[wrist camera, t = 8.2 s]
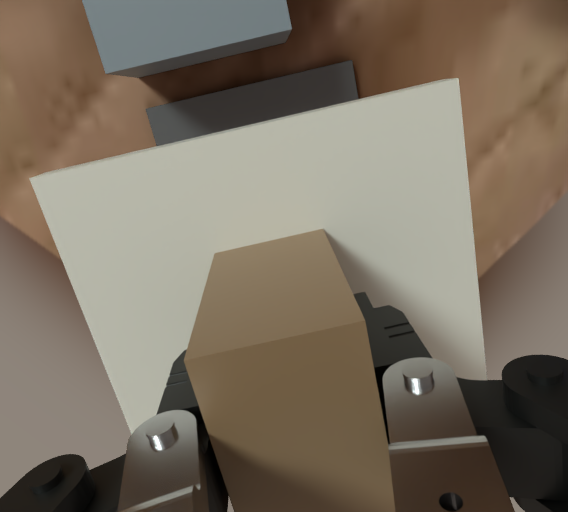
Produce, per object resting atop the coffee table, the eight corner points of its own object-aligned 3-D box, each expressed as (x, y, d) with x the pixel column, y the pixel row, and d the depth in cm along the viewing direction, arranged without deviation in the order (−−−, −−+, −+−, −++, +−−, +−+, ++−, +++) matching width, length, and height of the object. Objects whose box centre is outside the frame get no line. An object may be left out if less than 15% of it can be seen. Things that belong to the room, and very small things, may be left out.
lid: (443, 79, 13) (614, 66, 7) (479, 415, 16) (611, 611, 10) (46, 172, 13) (-146, 242, 7) (166, 482, 17) (110, 711, 10)
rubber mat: (350, 60, 32) (352, 60, 31) (382, 254, 36) (384, 256, 36) (147, 108, 32) (145, 108, 32) (203, 294, 37) (203, 297, 36)
